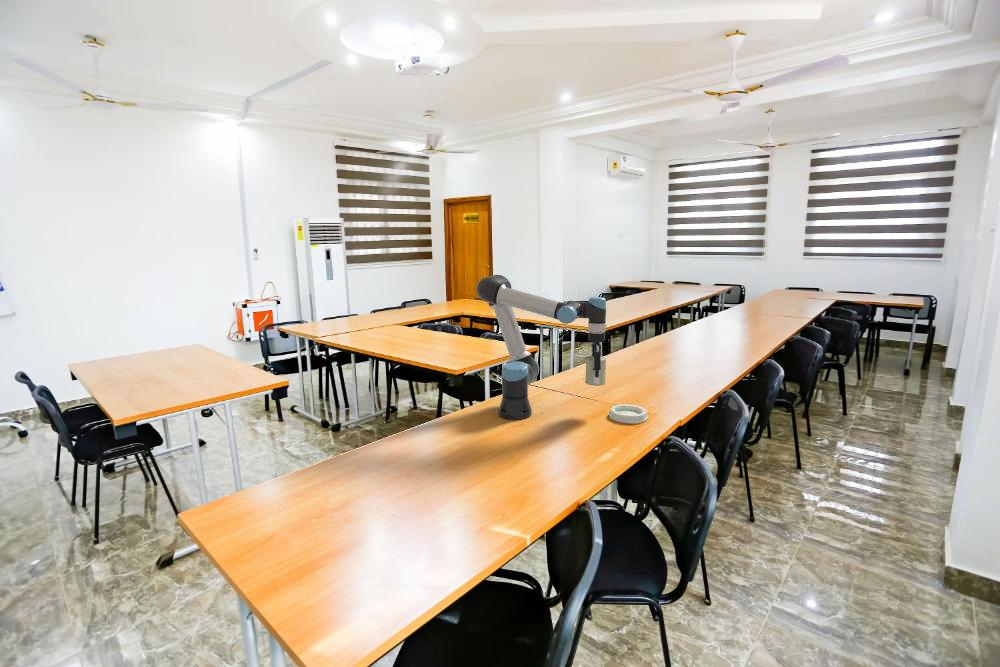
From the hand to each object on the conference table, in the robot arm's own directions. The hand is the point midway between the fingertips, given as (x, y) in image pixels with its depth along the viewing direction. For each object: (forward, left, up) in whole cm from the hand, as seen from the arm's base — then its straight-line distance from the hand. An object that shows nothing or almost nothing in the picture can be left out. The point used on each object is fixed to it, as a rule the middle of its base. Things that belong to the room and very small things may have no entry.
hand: (595, 380), depth 225 cm
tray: (+15, -4, -15) cm, 22 cm away
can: (0, 0, -1) cm, 1 cm away
